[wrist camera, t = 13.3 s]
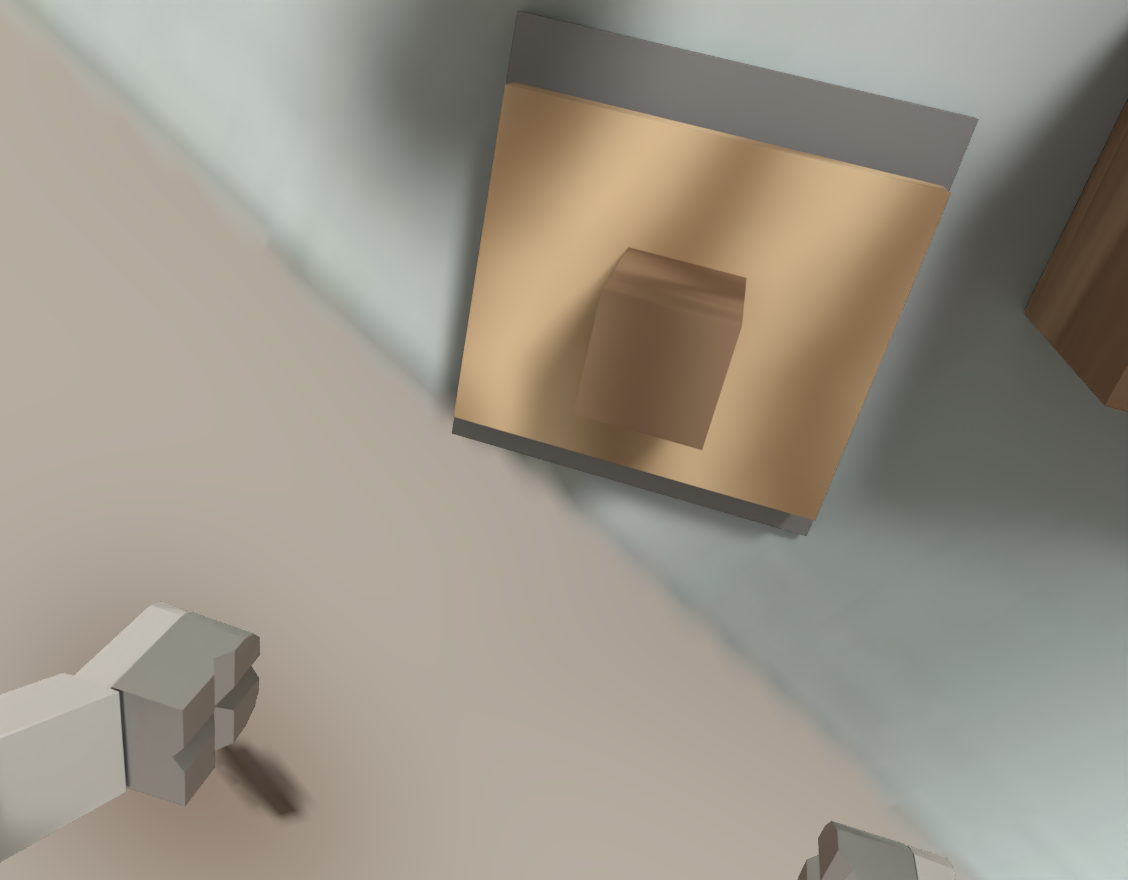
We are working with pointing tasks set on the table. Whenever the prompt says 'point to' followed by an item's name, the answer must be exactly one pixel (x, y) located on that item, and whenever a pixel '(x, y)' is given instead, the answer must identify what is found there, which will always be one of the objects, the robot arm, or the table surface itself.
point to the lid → (684, 296)
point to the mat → (736, 107)
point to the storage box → (1092, 279)
